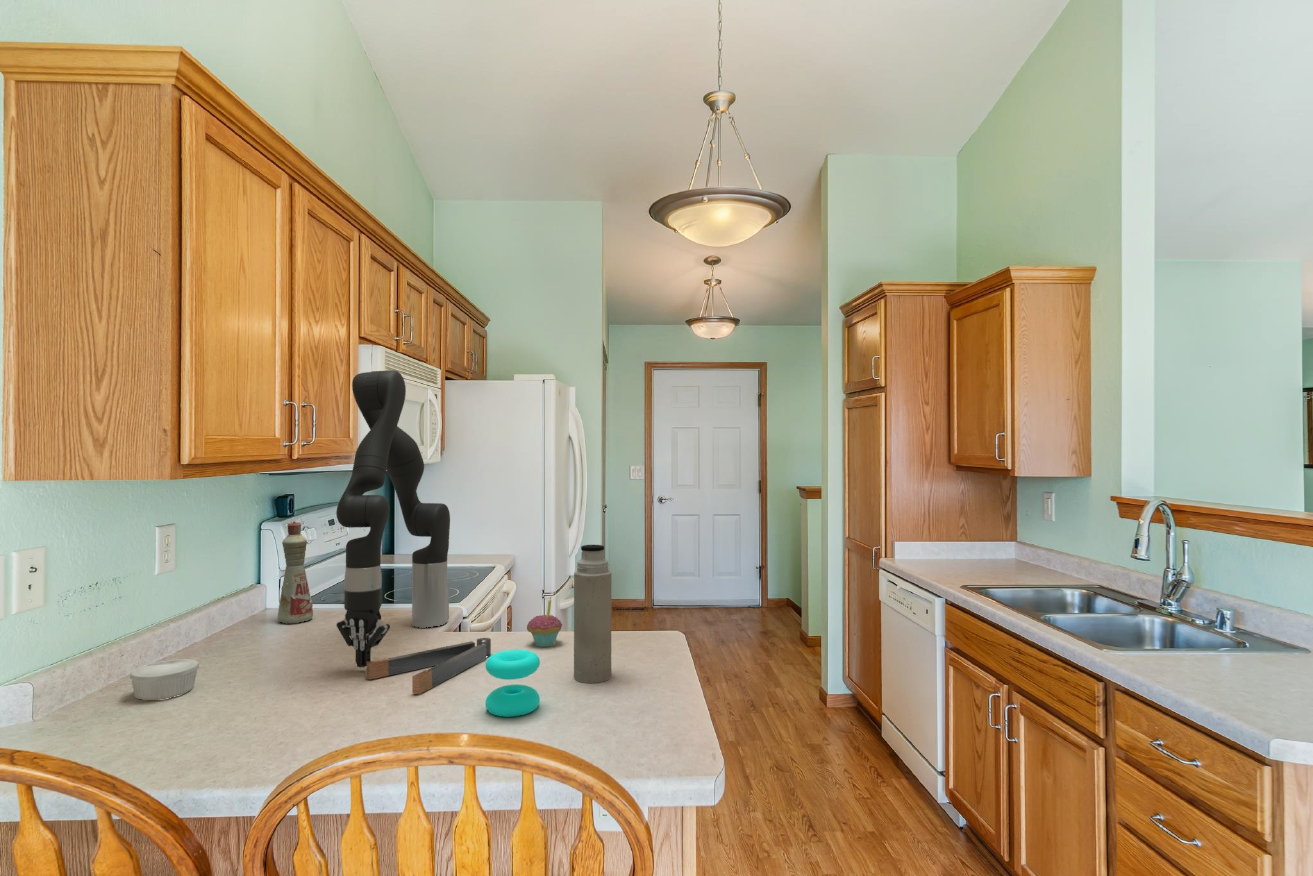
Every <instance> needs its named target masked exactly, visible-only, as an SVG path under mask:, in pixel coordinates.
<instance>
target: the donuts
mask: <svg viewBox="0 0 1313 876" xmlns="http://www.w3.org/2000/svg"><path fill="white" fill-rule="evenodd" d="M540 664H541V660H540V656H539V655H538V654H537V653H535V652H534V651H531V650H528V649H506V650H501V651H498V652H495V653H493V654H491V656H490V657H487V658H486V661H485V669H486V671H487V673H488V674H489V675H490V676H491V677H493V678H496V679H500V680H504V681H505V680H509V681H511V680H512V681H513V680H519V679H523V678H527V677H529V676H531V675H533V674H535V673H536V671H538V669H539V667H540ZM540 697H541V696H540V694H539V692H538V691H537V689H535V688H534V687H531V686H528V685H525V684H518V683H517V684H507V685H503V686H500V687H497V688H495V689H494V690H492V691H491V692H489V694H488V695H487V696H486V699H485V708H486V710H487V711H488V712H489V713H490V714H492V715H495V716H498V717H502V716H503V717H505V718H510V717H511V718H512V717H513V718H515V717H521V716H525V715H527V714H530V713H531V712H533V711H535V710H536V709H537V708H538V707H539V704H540V701H541V700H540V699H541V698H540ZM520 715H521V716H520Z"/></svg>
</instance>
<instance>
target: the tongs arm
mask: <svg viewBox="0 0 1313 876" xmlns="http://www.w3.org/2000/svg"><path fill="white" fill-rule="evenodd" d="M475 646H476V642H475V641H472V640H471V641H466V642H462V643H456V644H451V645H447V646H442V647H437V648H432V649H427V650H422V651H418V652H413V653H408V654H402V655H399V656H392V657H384V658H378V659H373V660H371V661H368V662H367V666H366V679H367V680H370V681H371V680H375V679H380V678H384V677H388V676H393V675H398V674H402V673H407V672H411V671H416V670H420V669H425V668H429V667H432V666H433V667H434V666H437V665H439V664H441V663H443V662H445V661H447V660H449V659H451V658H453V657H455V656H457V655H459V654H461V653H463V652H465V651H467V650H469V649H471V648H473V647H475Z"/></svg>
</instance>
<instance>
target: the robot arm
mask: <svg viewBox="0 0 1313 876" xmlns="http://www.w3.org/2000/svg"><path fill="white" fill-rule="evenodd" d="M351 387H352V395H353V397H354V400H355V401H354V402H355V403H356V405H357V407H358V409H359V411H360V413H361V415H362V417H363V418H364V420H365V423H366V425H367V426H368V428H369V431H368V432H367V434H366V435H365V436H364V437H363V439H362V440H361V441H360V444H358V447H357V448H356V451H355V454H354V459H353V464H352V465H353V466H352V472H351V477H350V478H349V482H348V484H347V486H346V488H345V489H344V492H342V495H341V497H340V499H339V501H338V503H337V506H336V512H335V514H336V519H337V521H338V523H339V525H341V526H342V527H344V528H351V529H352V528H370V529H369V531H368V533H367V535H365V536H362V537H356V538H353V539H352V538H351V539H350V540H348V541H347V543H346V545H345V571H344V587H343V588H344V589H343V590H344V592H343V593H344V594H343V595H344V596H343V597H344V598H343V599H344V601H343V602H344V603H343V605H344V607H343V608H344V610H345V611H346V612H345V615H344V618H343V619H342V620H341V621H339V622H336V628H337V629H338V631H339V632H340V634H341V636H342V638H343V640H344V642H345V643H346V645H347V646H348V647H353V650H355V664H356V667H358V668H367V662H368V661H372V659H371V658H372V654H371V653H372V651H371V650H372V648H374V647H376V646H379V644H380V643H381V641H382V640H384V639H383V638H384V637H385V636H386V634H387V633H388V632H389V630H390V628H391V625H390V624H389V623H385V622H383V620H382V615H381V611H380V610H381V609H380V608H381V607H382V601H383V600H382V597H383V596H382V595H383V594H382V592H383V591H382V589H383V585H382V584H383V581H382V580H383V576H382V567H381V566H382V565H381V558H382V557H381V554H382V553H381V552H382V551H381V549H382V542H383V535H384V531H385V529H386V525H387V522H388V519H389V516H390V508H391V507H390V503H389V501H388V499H387V498H386V497H385V496H384V495H381V494H366V493H367V492H370V491H375V490H378V489H381V488H382V487H383V486H384V485H385V483H386V482H385V481H386V475H387V474H388V476H389V478H390V481H391V483H392V485H393V489H394V490H395V493H396V497H397V499H398V503H399V505H400V506H399V507H400V511H401V514H402V517H403V522H404V524H405V527H406V530H407V531H408V532H409V534H410V535H412V536H414V537H421V538H423V537H425V538H426V537H428V538H429V537H430V542H429V543H428V545H426V546H425V547H422V548H420V549H419V548H418V549H417V550H414V551H413V552H412V554H411V572H412V573H411V575H412V576H411V585H412V586H411V626H412V627H414V626H415V627H414V628H418V627H419V629H420V628H421V629H427V628H428V627H431V628H434V627H433V626H438V627H441V626H440V625H442V626H444V625H446V624H447V623H448V621H447V620H448V619H449V620H450V587H449V586H448V554H449V549H450V547H449V546H450V526H451V514H450V510H449V506H448V505H446V504H445V503H438V502H434V503H433V502H432V503H431V502H421V500H419V496H418V493H417V491H418V490H417V489H418V487H419V484H420V482H421V479H422V478H423V475H424V471H425V463H424V459H423V455H422V453H421V450H420V448H419V446H418V444H417V442H416V441H415V439H414V438H413V437H411V436H410V434H408V433H407V432H406V431H404V430H403V429H402V428H401V427H399V426H398V424H399V421H400V418H401V414H402V411H403V408H404V405H405V400H406V396H407V395H406V394H407V390H406V388H407V387H406V382H405V380H404V377H403V375H402V374H401V373H400V372H399V371H398V370H393V369H392V370H391V369H389V370H387V369H386V370H377V371H367V372H361V373H356V375H355V376H354V377H353V379H352V381H351ZM446 622H447V623H446ZM445 623H446V624H445ZM443 624H444V625H443ZM426 627H427V628H426Z"/></svg>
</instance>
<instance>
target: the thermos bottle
mask: <svg viewBox="0 0 1313 876" xmlns="http://www.w3.org/2000/svg"><path fill="white" fill-rule="evenodd" d="M580 550H581V553H580V555H581V557H580V559H579V560H578V561H577V563H576V568H577V570H575V571H574V572H573V679H574V680H575V681H577V682H580V683H586V684H596V683H597V684H598V683H602V682H606V681H608V680H610V679H611V678H612V571H611V570H609V566H610V565H609V561H608V560H607V559H605V552H604V550H605V546H604V545H602V544H584V545H582V546H580Z"/></svg>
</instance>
